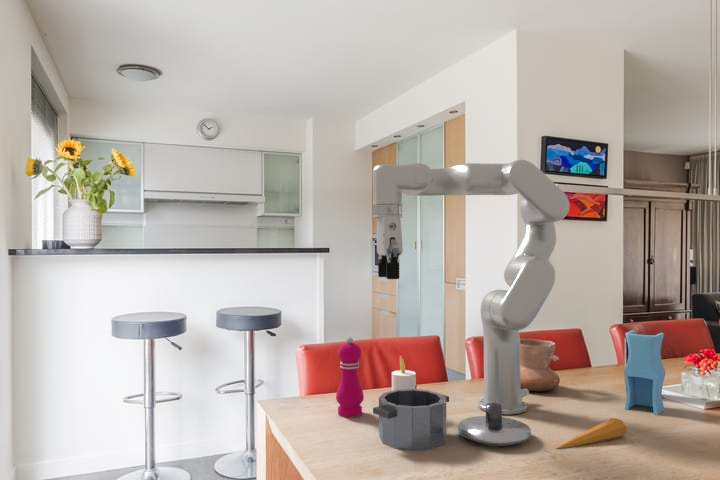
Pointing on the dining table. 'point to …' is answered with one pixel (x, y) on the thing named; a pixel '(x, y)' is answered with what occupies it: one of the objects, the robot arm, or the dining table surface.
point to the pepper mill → (349, 381)
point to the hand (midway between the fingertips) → (388, 277)
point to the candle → (403, 378)
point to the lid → (494, 428)
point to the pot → (412, 419)
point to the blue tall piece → (644, 371)
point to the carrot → (599, 433)
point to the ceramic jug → (537, 365)
